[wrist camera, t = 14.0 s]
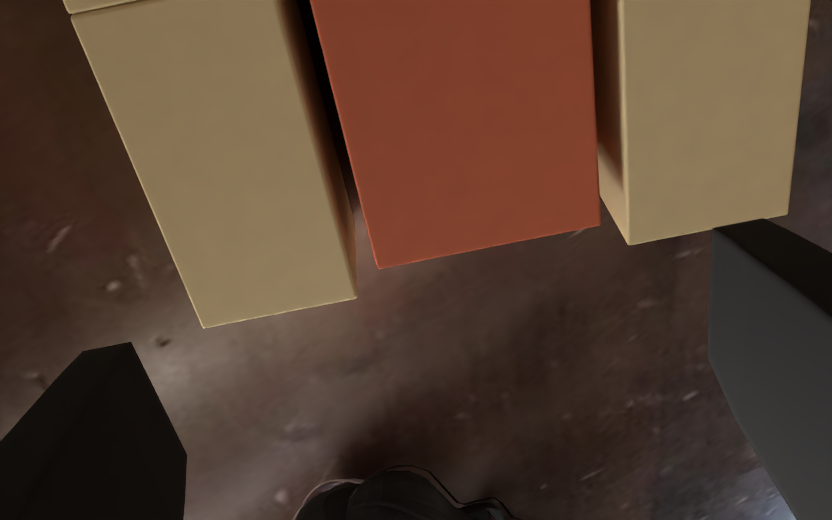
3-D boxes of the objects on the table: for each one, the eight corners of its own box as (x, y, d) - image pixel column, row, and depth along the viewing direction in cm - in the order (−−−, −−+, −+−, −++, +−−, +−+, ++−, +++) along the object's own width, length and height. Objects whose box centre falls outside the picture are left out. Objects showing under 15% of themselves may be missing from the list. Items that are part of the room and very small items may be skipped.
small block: (564, 156, 18) (601, 226, 16) (370, 196, 18) (376, 270, 16) (545, -101, 15) (587, -65, 13) (310, -52, 15) (307, -7, 13)
